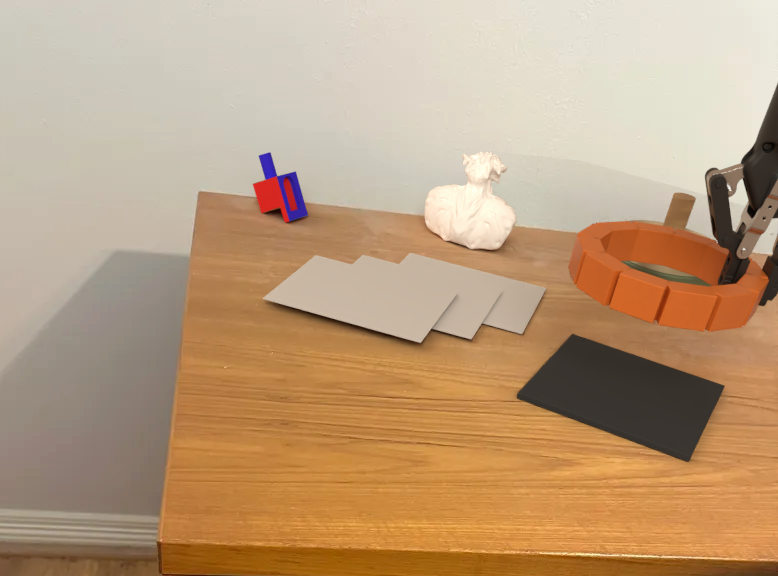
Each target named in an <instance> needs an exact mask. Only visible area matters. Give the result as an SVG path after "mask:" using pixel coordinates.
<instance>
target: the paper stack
mask: <svg viewBox="0 0 778 576" xmlns="http://www.w3.org/2000/svg"><path fill="white" fill-rule="evenodd" d="M546 290H547V287H544V286H541V285H537V284H533V283H529V282H525V281H521V280H519V279H515V278H510V277H506V276H502V275H498V274H494V273H492V272H486V271H483V270H479V269H475V268H471V267H467V266H464V265H459V264H456V263H453V262H449V261H444V260H441V259H436V258H433V257H429V256H426V255H421V254H417V253H413V252H409V253H408V254H407V255H406V256H405V257H404V258H403V259H402V260H401V261H400V262H399V263H396V262H393V261H389V260H386V259H382V258H377V257H373V256H370V255H367V254H362V255H361V256H360V257H358V258H357V259H356V260H355V261H354V262H353V263H349V262H344V261H341V260H336V259H333V258H329V257H325V256H321V255H317V254H315V255H314V256H313V257H311V258H310V259H309V260H308V261H307V262H305V263H304V264H303V265H301V266H300V267H299V268H298V269H296V271H294V272H293V273H292V274H291V275H289V276H288V277H287V278H286V279H284V280H283V281H282V282H280V283H279V284H278V285H277V286H276V287H275V288H273V289H272V290H271V291H269V292H268V293H267V294H266V295H264V297H262V298H261V299H262V300H265V301H267V302H272V303H275V304H280V305H283V306H286V307H290V308H294V309H298V310H300V311H304V312H309V313H310V314H311V313H312V314H316V315H319V316H322V317H326V318H330V319H334V320H336V321H340V322H344V323H347V324H352V325H354V326H359V327H362V328H365V329H369V330H373V331H375V332H380V333H383V334H387V335H391V336H394V337H398V338H400V339H405V340H407V341H412V342H415V343H419V344H421V343H422V342H423V341H424V339H425V338H426V336H428V334H429V333H430V331H431V330H435V331H439V332H442V333H446V334H450V335H453V336H457V337H460V338H465V339H468V340H473V338H474V336H475V335H476V333H477V331H478V330H479V328H480V327H481V325H487V326H491V327H494V328H498V329H502V330H505V331H508V332H513V333H515V334H519V335H523V333H524V332H525V330H526V327H527V326H528V324H529V322H530V321H531V318H532V317H533V315H534V313H535V311H536V309H537V307H538V305H539V303H540V302H541V300H542V298H543V296H544V293H545V292H546Z"/></svg>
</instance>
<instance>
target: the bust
mask: <svg viewBox="0 0 778 576" xmlns="http://www.w3.org/2000/svg"><path fill="white" fill-rule="evenodd" d="M461 157H462V160H463V162H462V165H463V166H465V168H464V173H465V174H466V176H467V181H466V184H464V185H460V184H456V183H454V184H445V185H437V186H435V187H433V188H432V189H431V190H429V191H428V193H427V195H426V198H425V202H424V209H423V210H424V211H423V215H424V217H423V218H424V222H425V226H426V228H427V229H428V230H429V231H431V232H432V233H434V234H435V235H438V236H439V237H440V238H441V239H442V240H443V241H444V242H451V243H455V244H458V245H461V246H464V247H467V248H468V249H470V250H479V249H482V250H487V251H488V250H489V251H496V250H499V249H500V248H501V247H502V245H503V244H504V243H505V241H506V240H507V238H508V237H509V236H510V234H511V233H512V231H513V229H514V228H515V226H516V223H517V222H518V218H517V215H516V212H515V210H514V207H512V206H511V205H510V204H509V203H507V201H506V200H505V199H504V198H502V197H501V196H498V195H494V194H493V192H494V191H493V187H492V184H493V183H492V182H494V183H496V184H500V180H501V179H500V178H501V174H505V173H506V172H507V170H508V166H507V165H505V164H504V163H503V162H502V161H501V158H500V157H499V156H498V155H496V154H495V153H492V151H490V152H489V151H486V152H483V151H479V152H477V153H475V154H470V155H467V154H466V153H463V154H462V155H461Z"/></svg>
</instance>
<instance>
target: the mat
mask: <svg viewBox="0 0 778 576" xmlns="http://www.w3.org/2000/svg"><path fill="white" fill-rule="evenodd" d="M725 387H726V386H725V384H721V383H719V382H716V381H713V380H710V379H707V378H704V377H701V376H698V375H695V374H693V373H689V372H686V371H684V370H681V369H677V368H674V367H671V366H668V365H666V364H663V363H660V362H656V361H654V360H651V359H648V358H645V357H643V356H639V355H636V354H633V353H631V352H628V351H624V350H622V349H618V348H616V347H613V346H610V345H608V344H605V343H601V342H598V341H595V340H592V339H590V338H586V337H583V336H580V335H578V334H575V333H572V334H570V336H568V337H567V339H566V340H565V341H564V342H563V343H562V344H561V346H560V347H559V348H557V350H556V351H555V352H554V353H553V354H552V355H551V356H550V357H549V358H548V359H547V361H546V362H545V363H544V364H542V366H541V367H540V368H539V369H538V370H537V371H536V372H535V374H533V375H532V377H531V378H530V379H529V380H528V381H527V382H526V384H524V385H523V387H522V388H521V389H520V390H519V391H518V392H517V393H516V399H518V400H521V401H524V402H526V403H529V404H532V405H535V406H537V407H540V408H543V409H545V410H548V411H550V412H553V413H556V414H558V415H561V416H564V417H566V418H569V419H572V420H575V421H578V422H579V423H582V424H586V425H588V426H590V427H593V428H595V429H599V430H600V431H604V432H607V433H609V434H612V435H614V436H617V437H620V438H622V439H625V440H628V441H631V442H634V443H636V444H638V445H641V446H645V447H647V448H650V449H651V450H652V449H653V450H654V451H657V452H660V453H662V454H666V455H668V456H671V457H674V458H676V459H679V460H682V461H685V462H688V463H689V462H690V460H691V458H692V456H693V455H694V452H695V449H696V447H697V445H698V444H699V442H700V440H701V437H702V435H703V433H704V431H705V429H706V427H707V425H708V422H709V421H710V419H711V417H712V414H713V413H714V411H715V408H716V406H717V404H718V402H719V400H720V398H721V396H722V394H723V392H724V390H725Z"/></svg>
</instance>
